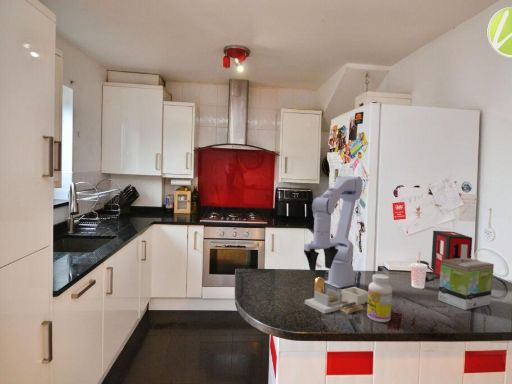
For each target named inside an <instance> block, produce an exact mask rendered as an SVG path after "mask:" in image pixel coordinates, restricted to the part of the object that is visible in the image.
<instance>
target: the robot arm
mask: <svg viewBox="0 0 512 384" xmlns="http://www.w3.org/2000/svg"><path fill="white" fill-rule="evenodd" d="M334 181H335V182H334V186H333V187H328V188H327V189H326V190H325V192H324V193H323V194H322V195H320V196H316V198H314V199H313V200H312V204H311V210H312V216H313V218H314V220H313V222H314V223H313V224H314V225H313V241H311V242H310V243H307V244H304V245H303V252H304V254H305V257H306V260H307V264H308V267H309V271H312V272H315V271H316V269H317V261H318V257H319V254H320V252H318V251H317V250H323V254H324V267H325V269H328V277H327V278H328V279H327V280H325V284H327V285H329V286H331V287H334V288H337V289H339V288H346V287H349V286H354V285H355V283H354V282H353V281H354V277H353V276H354V267H353V264H352V263H351V262H352V260H353V257H354V244H353V242H352V241H350V240H349V234H350V230H351V225H352V220H353V217H354V216H353V215H354V210H355V207H356V201H358V200H359V199H361V195H362V190H363V179H362V177H361V176H346V175H345V176H341V175H338V176H336V178H335V180H334ZM340 199H341V200H342V206H341V210H340V213H339V220H338V223H337V227H336V233H335V235H334V236H333V237H331V229H332V228H331V224H332V215H333V213H334V212H335V208H336V204H337V203H338V202H339V201H340Z"/></svg>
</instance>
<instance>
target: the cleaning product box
mask: <svg viewBox="0 0 512 384" xmlns="http://www.w3.org/2000/svg"><path fill="white" fill-rule="evenodd" d="M472 247H473V237H471V236H468V235H464V234H462V233H458V232H455V231H446V230H445V231H444V230H433V231H432V247H431V264H430V269H431V268H432V269H433V270H434V273H435V274H436V275H437V276H438V277H439V278H438V277H437V276H436V277H437V278H438V279H440V272H441V262H442V260H448V259H458V258H469V259H472V251H473V249H472Z"/></svg>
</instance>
